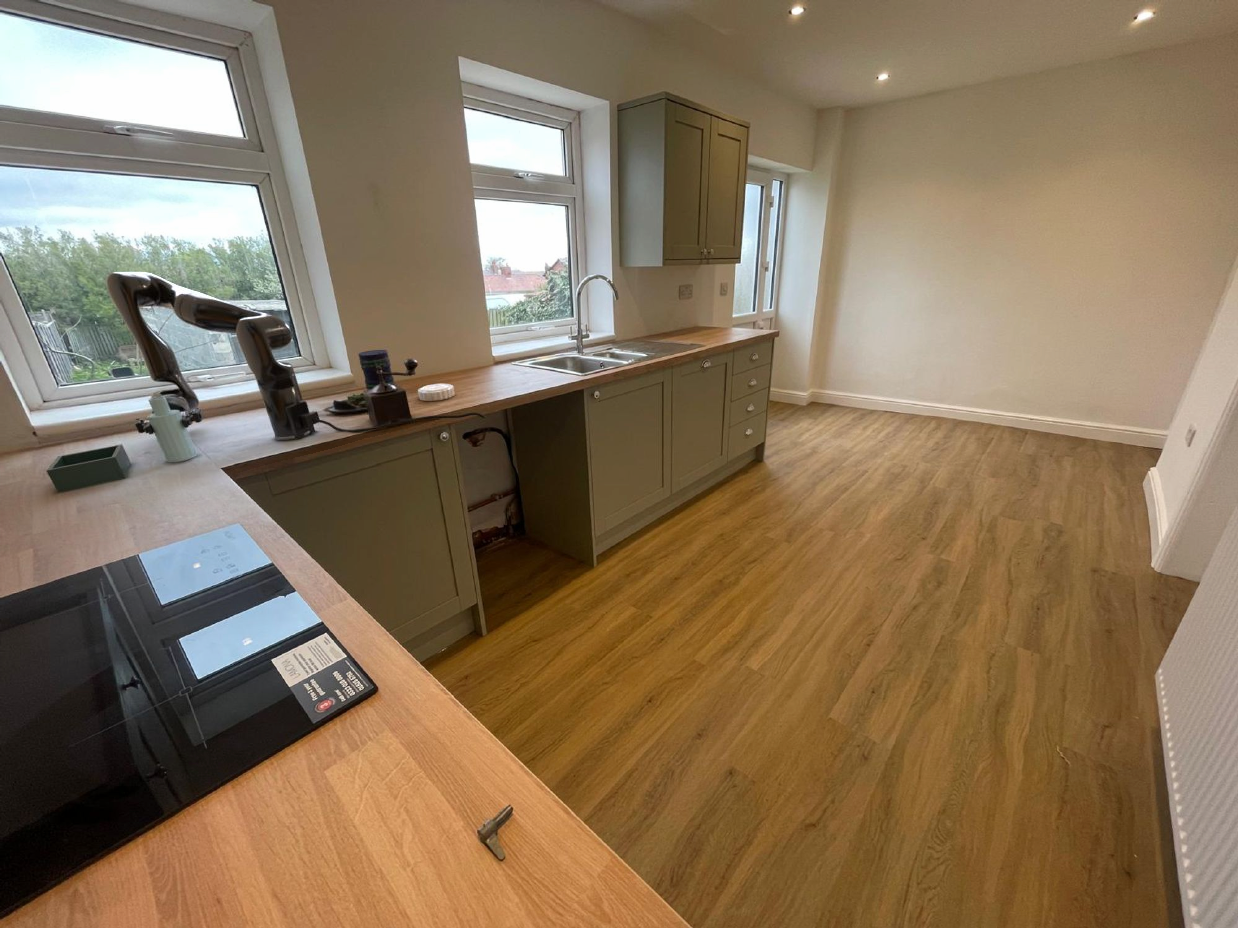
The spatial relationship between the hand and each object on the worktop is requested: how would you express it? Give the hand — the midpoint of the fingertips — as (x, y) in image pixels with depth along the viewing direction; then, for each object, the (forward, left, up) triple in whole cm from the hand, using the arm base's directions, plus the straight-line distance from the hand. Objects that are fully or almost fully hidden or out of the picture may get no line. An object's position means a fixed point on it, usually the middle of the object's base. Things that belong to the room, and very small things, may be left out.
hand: (167, 427), depth 125 cm
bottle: (+2, -1, -9) cm, 9 cm away
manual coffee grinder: (-36, -39, -10) cm, 54 cm away
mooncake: (-34, -63, -10) cm, 73 cm away
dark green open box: (+12, +12, -9) cm, 19 cm away
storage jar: (-9, -66, -10) cm, 68 cm away
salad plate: (-14, -47, -10) cm, 50 cm away
